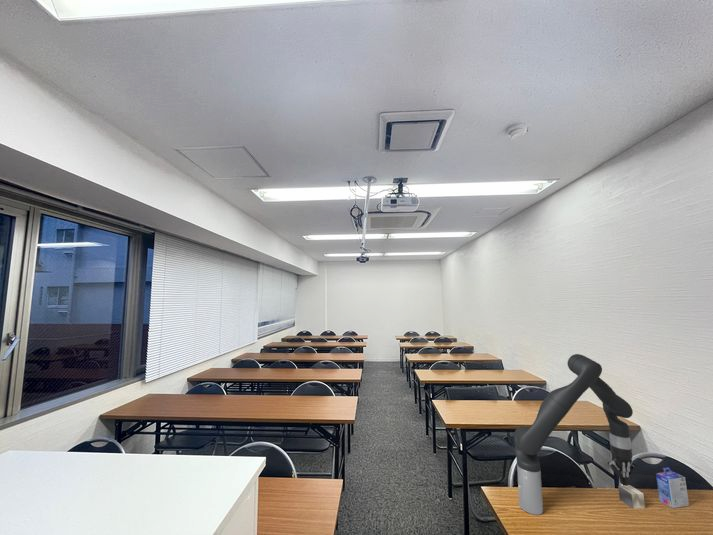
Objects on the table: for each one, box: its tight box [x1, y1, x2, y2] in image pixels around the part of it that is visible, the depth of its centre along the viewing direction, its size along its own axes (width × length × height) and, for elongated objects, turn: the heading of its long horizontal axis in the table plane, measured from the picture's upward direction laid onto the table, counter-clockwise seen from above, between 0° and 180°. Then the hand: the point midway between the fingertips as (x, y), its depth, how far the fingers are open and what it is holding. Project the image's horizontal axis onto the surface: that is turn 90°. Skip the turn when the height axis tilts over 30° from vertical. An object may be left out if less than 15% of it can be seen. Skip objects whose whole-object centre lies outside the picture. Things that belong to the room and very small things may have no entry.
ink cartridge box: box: [655, 466, 690, 509], centre depth 135 cm, size 10×6×14 cm, turn 101°
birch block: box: [617, 484, 646, 510], centre depth 134 cm, size 6×6×6 cm
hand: (624, 484), depth 134 cm, fingers closed
